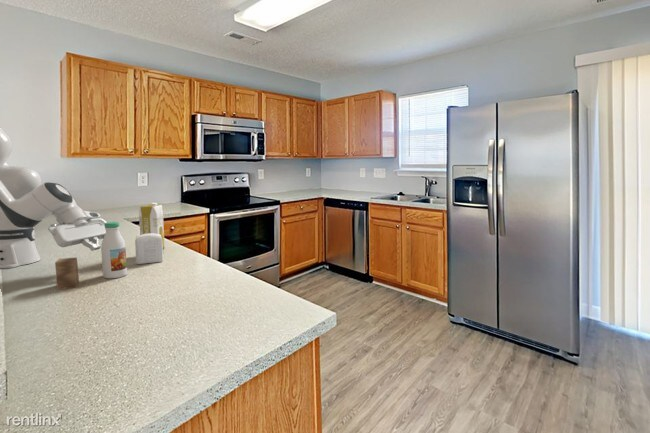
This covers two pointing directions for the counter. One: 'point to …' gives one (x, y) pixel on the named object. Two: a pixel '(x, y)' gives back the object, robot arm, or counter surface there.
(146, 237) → the photo printer
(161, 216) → the juice carton
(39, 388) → the counter surface
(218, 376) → the counter surface
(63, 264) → the walnut block
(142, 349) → the counter surface
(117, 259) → the milk bottle
